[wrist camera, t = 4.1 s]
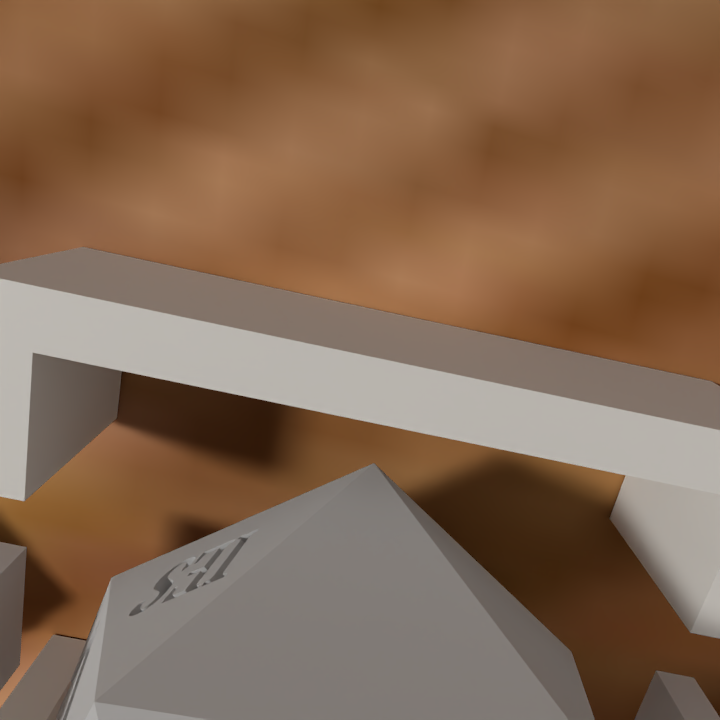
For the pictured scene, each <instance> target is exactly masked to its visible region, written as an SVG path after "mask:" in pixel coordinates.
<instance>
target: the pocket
mask: <svg viewBox="0 0 720 720" xmlns="http://www.w3.org/2000/svg"><path fill="white" fill-rule="evenodd" d="M122 371H124V372H129V373H134V374H139V375H144V376H149V377H153V378H158V379H163V380H168V381H173V382H178V383H182V384H187V385H192V386H197V387H202V388H207V389H211V390H216V391H221V392H226V393H231V394H236V395H240V396H245V397H250V398H255V399H260V400H265V401H269V402H274V403H279V404H284V405H289V406H294V407H298V408H303V409H308V410H313V411H318V412H323V413H327V414H332V415H337V416H342V417H347V418H352V419H356V420H361V421H366V422H371V423H376V424H381V425H386V426H390V427H395V428H400V429H405V430H410V431H415V432H419V433H424V434H429V435H434V436H439V437H444V438H448V439H453V440H458V441H463V442H468V443H473V444H477V445H482V446H487V447H492V448H497V449H502V450H506V451H511V452H516V453H521V454H526V455H531V456H535V457H540V458H545V459H550V460H555V461H560V462H564V463H569V464H574V465H579V466H584V467H589V468H593V469H598V470H603V471H608V472H613V473H618V474H622V475H626V476H625V478H624V481H623V484H622V486H621V489H620V492H619V494H618V497H617V500H616V502H615V505H614V508H613V510H612V513H611V516H610V518H609V519H610V520H611V521H612V523H613V524H614V526H615V527H616V529H617V530H618V531H619V533H620V534H621V536H622V537H623V538H624V540H625V541H626V543H627V544H628V546H629V547H630V548H631V550H632V551H633V553H634V554H635V555H636V557H637V558H638V560H639V561H640V562H641V564H642V565H643V567H644V568H645V570H646V571H647V572H648V574H649V575H650V577H651V578H652V579H653V581H654V582H655V584H656V585H657V587H658V588H659V589H660V591H661V592H662V594H663V595H664V596H665V598H666V599H667V601H668V602H669V603H670V605H671V606H672V608H673V609H674V611H675V612H676V613H677V615H678V616H679V618H680V619H681V620H682V622H683V623H684V625H685V626H686V627H687V629H688V630H689V632H690V633H694V634H699V635H704V636H709V637H714V638H719V639H720V386H719V385H717V384H715V383H713V382H712V381H707V380H703V379H698V378H693V377H689V376H684V375H679V374H675V373H670V372H665V371H661V370H656V369H651V368H647V367H642V366H637V365H633V364H628V363H623V362H619V361H614V360H609V359H605V358H600V357H595V356H591V355H586V354H581V353H576V352H572V351H567V350H562V349H558V348H553V347H548V346H544V345H539V344H534V343H530V342H525V341H520V340H516V339H511V338H506V337H502V336H497V335H492V334H488V333H483V332H478V331H474V330H469V329H464V328H460V327H455V326H450V325H446V324H441V323H436V322H432V321H427V320H422V319H418V318H413V317H408V316H404V315H399V314H394V313H389V312H385V311H380V310H375V309H371V308H366V307H361V306H357V305H352V304H347V303H343V302H338V301H333V300H329V299H324V298H319V297H315V296H310V295H305V294H301V293H296V292H291V291H287V290H282V289H277V288H273V287H268V286H263V285H259V284H254V283H249V282H245V281H240V280H235V279H231V278H226V277H221V276H216V275H212V274H207V273H202V272H198V271H193V270H188V269H184V268H179V267H174V266H170V265H165V264H160V263H156V262H151V261H146V260H142V259H137V258H132V257H128V256H123V255H118V254H114V253H109V252H104V251H100V250H95V249H90V248H86V247H81V248H76V249H71V250H66V251H61V252H56V253H52V254H47V255H42V256H37V257H32V258H27V259H22V260H18V261H13V262H8V263H3V264H0V496H1V497H6V498H11V499H16V500H21V501H25V500H26V499H27V498H29V497H30V496H31V495H32V494H33V493H34V492H35V491H36V490H37V489H39V488H40V487H41V486H42V485H43V484H44V483H45V482H46V481H47V480H49V479H50V478H51V477H52V476H53V475H54V474H55V473H56V472H57V471H59V470H60V469H61V468H62V467H63V466H64V465H65V464H66V463H68V462H69V461H70V460H71V459H72V458H73V457H74V456H75V455H76V454H78V453H79V452H80V451H81V450H82V449H83V448H84V447H85V446H86V445H88V444H89V443H90V442H91V441H92V440H93V439H94V438H95V437H97V436H98V435H99V434H100V433H101V432H102V431H103V430H104V429H105V428H107V427H108V426H109V425H110V424H111V423H112V422H113V421H114V420H115V419H117V413H118V403H119V393H120V384H121V374H122ZM85 643H86V641H85V640H79V639H74V638H69V637H64V636H58V635H53V636H52V637H51V638H50V640H49V641H48V643H47V644H46V645H45V647H44V648H43V650H42V651H41V652H40V654H39V655H38V656H37V658H36V659H35V661H34V662H33V663H32V665H31V666H30V668H29V669H28V670H27V672H26V673H25V675H24V676H23V677H22V679H21V680H20V682H19V683H18V684H17V686H16V687H15V689H14V690H13V691H12V693H11V694H10V695H9V697H8V698H7V700H6V701H5V702H4V704H3V705H2V707H1V708H0V720H55V719H56V716H57V714H58V711H59V709H60V706H61V704H62V702H63V700H64V698H65V695H66V693H67V691H68V689H69V687H70V685H71V678H72V676H73V673H74V671H75V668H76V666H77V663H78V661H79V658H80V656H81V653H82V651H83V648H84V646H85Z"/></svg>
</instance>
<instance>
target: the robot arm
mask: <svg viewBox="0 0 720 720" xmlns="http://www.w3.org/2000/svg"><path fill="white" fill-rule="evenodd" d="M26 552H27V547H23V546H18V545H13V544H8V543H3V542H0V690H1V689H2V688H3V686H4V685H5V684H6V682H7V681H8V680H9V678H10V677H11V676H12V674H13V673H14V672H15V670H16V669H17V668H18V666H19V665H20V653H21V636H22V619H23V602H24V585H25V568H26ZM634 720H720V717H719V716H718V714H717V712H716V711H715V709H714V708H713V706H712V705H711V703H710V702H709V700H708V699H707V697H706V696H705V694H704V692H703V691H702V689H701V688H700V686H699V685H698V683H697V682H696V680H695V679H694V678H693V677H688V676H683V675H677V674H672V673H667V672H662V671H657V670H656V671H655V674H654V676H653V678H652V681H651V683H650V685H649V687H648V690H647V692H646V694H645V696H644V699H643V701H642V703H641V706H640V708H639V710H638V712H637V715H636V717H635V719H634Z"/></svg>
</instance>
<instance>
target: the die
mask: <svg viewBox="0 0 720 720" xmlns="http://www.w3.org/2000/svg"><path fill="white" fill-rule="evenodd" d="M55 720H595V719H594V716H593V713H592V710H591V707H590V704H589V701H588V698H587V696H586V693H585V690H584V687H583V684H582V681H581V678H580V675H579V672H578V669H577V666H576V664H575V661H574V658H573V655H572V652H571V651H570V650H569V649H568V648H567V647H566V646H565V645H564V644H563V643H562V642H561V641H560V640H559V639H558V638H557V637H556V636H555V635H554V634H552V633H551V632H550V631H549V630H548V629H547V628H546V627H545V626H544V625H543V624H542V623H541V622H540V621H539V620H538V619H537V618H536V617H535V616H534V615H533V614H532V613H530V612H529V611H528V610H527V609H526V608H525V607H524V606H523V605H522V604H521V603H520V602H519V601H518V600H517V599H516V598H515V597H514V596H513V595H512V594H511V593H510V592H508V591H507V590H506V589H505V588H504V587H503V586H502V585H501V584H500V583H499V582H498V581H497V580H496V579H495V578H494V577H493V576H492V575H491V574H490V573H489V572H487V571H486V570H485V569H484V568H483V567H482V566H481V565H480V564H479V563H478V562H477V561H476V560H475V559H474V558H473V557H472V556H471V555H470V554H469V553H468V552H467V551H465V550H464V549H463V548H462V547H461V546H460V545H459V544H458V543H457V542H456V541H455V540H454V539H453V538H452V537H451V536H450V535H449V534H448V533H447V532H446V531H445V530H443V529H442V528H441V527H440V526H439V525H438V524H437V523H436V522H435V521H434V520H433V519H432V518H431V517H430V516H429V515H428V514H427V513H426V512H425V511H424V510H423V509H421V508H420V507H419V506H418V505H417V504H416V503H415V502H414V501H413V500H412V499H411V498H410V497H409V496H408V495H407V494H406V493H405V492H404V491H403V490H402V489H401V488H399V487H398V486H397V485H396V484H395V483H394V482H393V481H392V480H391V479H390V478H389V477H388V476H387V475H386V474H385V473H384V472H383V471H382V470H381V469H380V468H379V467H377V466H376V465H375V464H374V463H373V464H371V465H369V466H366V467H364V468H362V469H360V470H357V471H355V472H353V473H350V474H348V475H346V476H343V477H341V478H339V479H337V480H334V481H332V482H330V483H327V484H325V485H323V486H320V487H318V488H316V489H314V490H311V491H309V492H307V493H304V494H302V495H300V496H297V497H295V498H293V499H291V500H288V501H286V502H284V503H281V504H279V505H277V506H274V507H272V508H270V509H268V510H265V511H263V512H261V513H258V514H256V515H254V516H251V517H249V518H247V519H245V520H242V521H240V522H238V523H235V524H233V525H231V526H228V527H226V528H224V529H222V530H219V531H217V532H215V533H212V534H210V535H208V536H205V537H203V538H201V539H199V540H196V541H194V542H192V543H189V544H187V545H185V546H182V547H180V548H178V549H176V550H173V551H171V552H169V553H166V554H164V555H162V556H159V557H157V558H155V559H153V560H150V561H148V562H146V563H143V564H141V565H139V566H136V567H134V568H132V569H130V570H127V571H125V572H123V573H120V574H118V575H116V576H114V577H112V578H111V580H110V583H109V585H108V588H107V590H106V593H105V595H104V598H103V600H102V603H101V605H100V608H99V611H98V613H97V616H96V618H95V621H94V623H93V626H92V628H91V631H90V633H89V636H88V638H87V641H86V643H85V646H84V648H83V651H82V653H81V656H80V658H79V661H78V663H77V666H76V668H75V671H74V673H73V676H72V678H71V685H70V687H69V689H68V691H67V693H66V695H65V698H64V700H63V702H62V704H61V706H60V709H59V711H58V714H57V716H56V719H55Z"/></svg>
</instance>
